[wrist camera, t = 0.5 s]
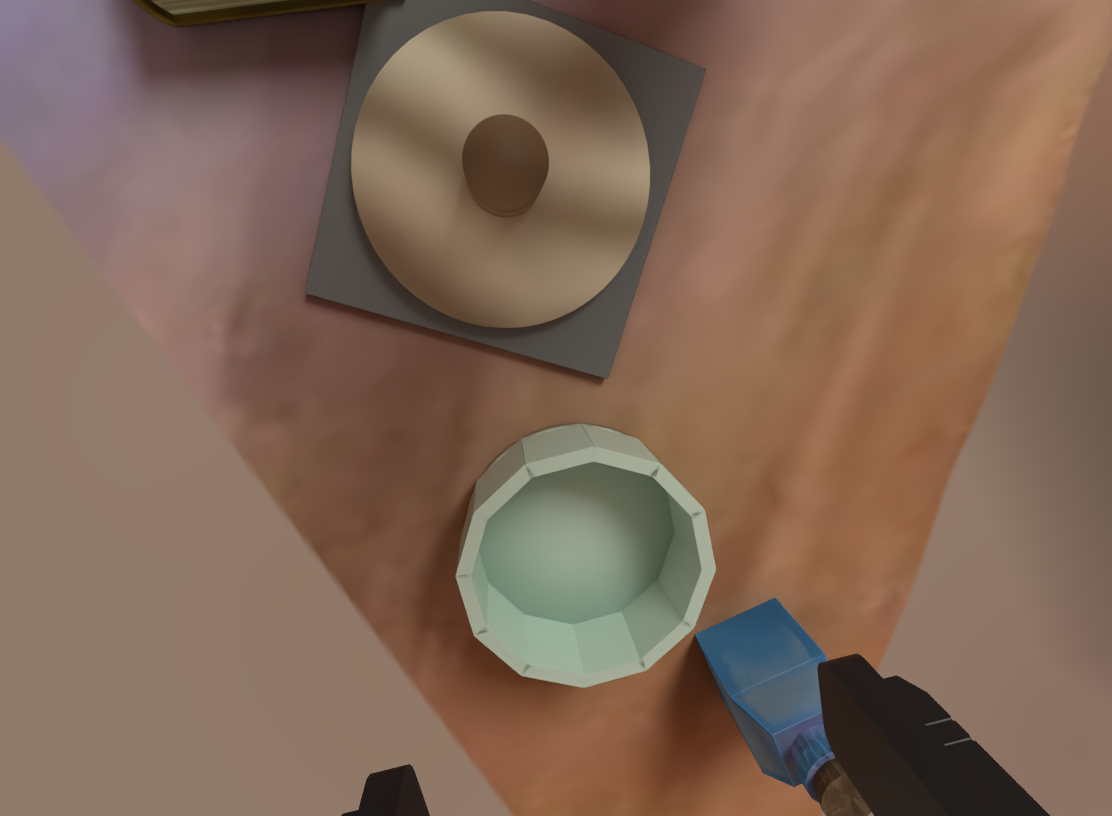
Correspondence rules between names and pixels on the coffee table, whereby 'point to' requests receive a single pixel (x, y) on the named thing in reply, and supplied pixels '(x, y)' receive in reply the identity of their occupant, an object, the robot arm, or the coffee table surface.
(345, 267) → the mat
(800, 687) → the perfume bottle
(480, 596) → the bowl
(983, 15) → the coffee table surface
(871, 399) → the coffee table surface
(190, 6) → the hardcover book
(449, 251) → the lid
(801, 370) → the coffee table surface
